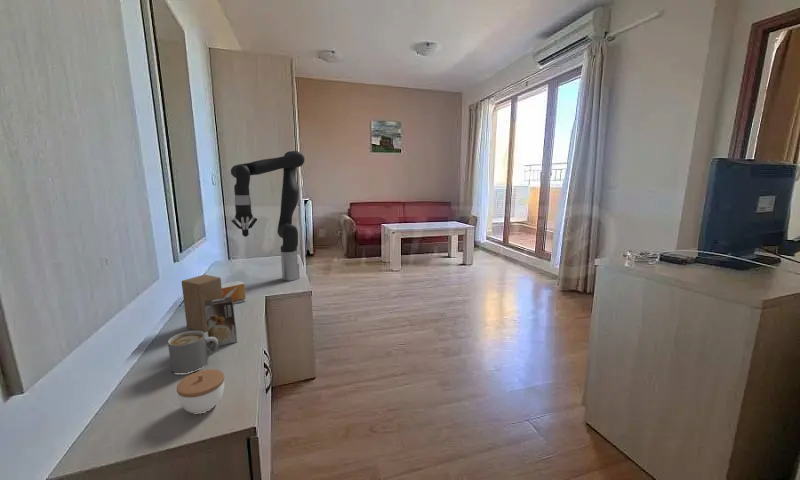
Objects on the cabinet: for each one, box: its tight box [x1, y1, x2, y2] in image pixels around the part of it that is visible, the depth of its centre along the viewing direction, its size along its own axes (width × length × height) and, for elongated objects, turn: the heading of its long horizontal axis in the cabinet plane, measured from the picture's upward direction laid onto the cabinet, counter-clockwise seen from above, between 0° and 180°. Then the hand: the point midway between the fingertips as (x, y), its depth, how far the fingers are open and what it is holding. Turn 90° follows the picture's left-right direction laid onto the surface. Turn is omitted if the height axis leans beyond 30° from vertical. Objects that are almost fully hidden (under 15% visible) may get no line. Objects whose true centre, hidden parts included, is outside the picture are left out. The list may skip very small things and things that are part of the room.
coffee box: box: [205, 297, 238, 348], centre depth 121 cm, size 9×6×16 cm
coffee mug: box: [167, 330, 220, 373], centre depth 106 cm, size 13×10×10 cm
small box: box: [221, 280, 246, 302], centre depth 161 cm, size 8×6×13 cm
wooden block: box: [181, 274, 223, 333], centre depth 133 cm, size 10×10×20 cm
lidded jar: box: [176, 368, 225, 414], centre depth 87 cm, size 11×11×9 cm
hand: (245, 236), depth 175 cm, fingers closed
